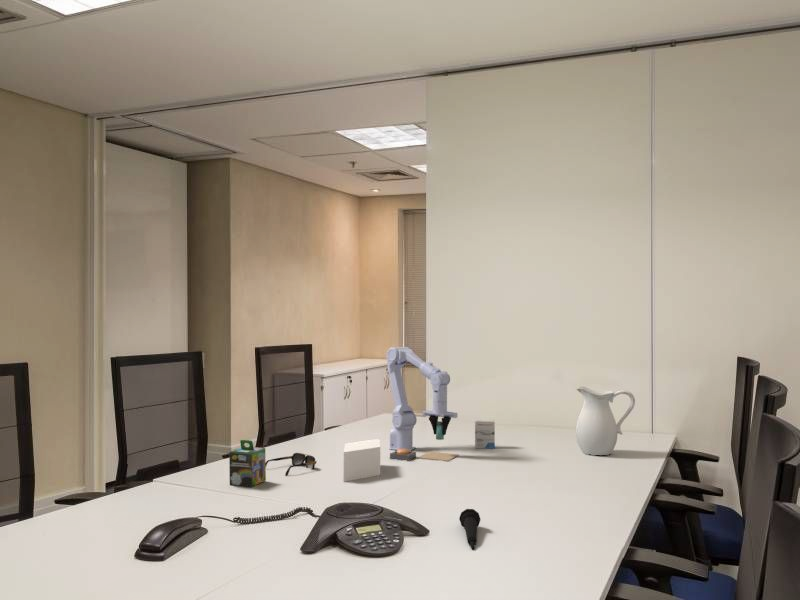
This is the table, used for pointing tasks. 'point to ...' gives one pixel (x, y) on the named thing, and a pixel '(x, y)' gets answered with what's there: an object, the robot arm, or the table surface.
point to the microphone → (470, 525)
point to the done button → (403, 451)
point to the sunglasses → (298, 461)
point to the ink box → (484, 434)
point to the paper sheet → (438, 456)
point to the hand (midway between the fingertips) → (439, 434)
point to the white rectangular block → (361, 459)
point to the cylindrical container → (439, 431)
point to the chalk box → (247, 465)
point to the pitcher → (599, 421)
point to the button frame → (402, 456)
